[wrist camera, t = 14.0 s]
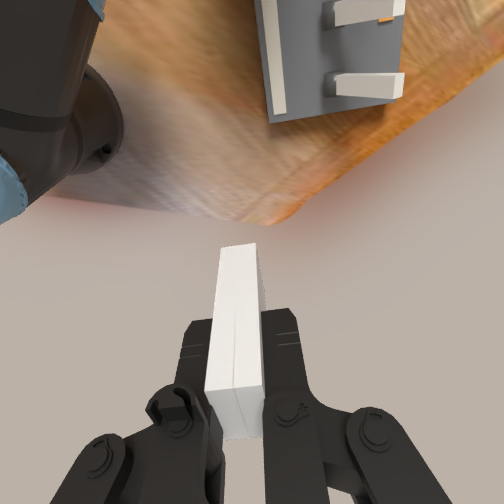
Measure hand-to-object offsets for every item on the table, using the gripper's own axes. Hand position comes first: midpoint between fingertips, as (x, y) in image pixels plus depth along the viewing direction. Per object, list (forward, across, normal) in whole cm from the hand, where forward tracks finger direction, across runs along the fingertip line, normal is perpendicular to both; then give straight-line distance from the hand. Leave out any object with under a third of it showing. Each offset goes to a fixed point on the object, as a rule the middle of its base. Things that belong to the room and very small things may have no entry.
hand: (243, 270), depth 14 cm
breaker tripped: (+31, +11, +9) cm, 34 cm away
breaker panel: (+34, +11, +9) cm, 37 cm away
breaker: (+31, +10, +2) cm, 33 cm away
